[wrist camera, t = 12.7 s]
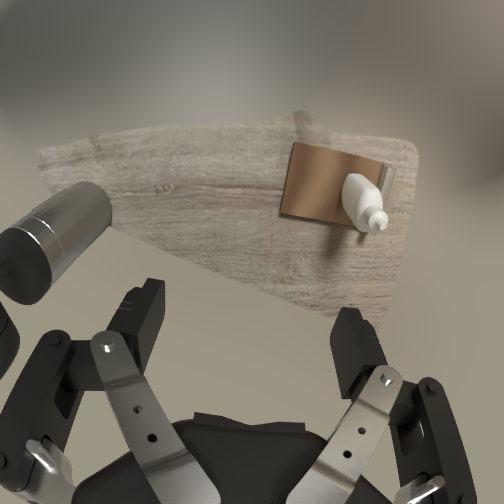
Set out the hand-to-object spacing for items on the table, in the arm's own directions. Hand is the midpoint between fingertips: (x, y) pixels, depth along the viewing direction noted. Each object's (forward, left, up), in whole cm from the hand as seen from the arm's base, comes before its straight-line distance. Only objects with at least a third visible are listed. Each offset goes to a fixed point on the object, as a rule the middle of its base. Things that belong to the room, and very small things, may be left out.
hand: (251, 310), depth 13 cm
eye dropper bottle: (+13, -1, -29) cm, 32 cm away
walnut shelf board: (+11, -1, -30) cm, 32 cm away
